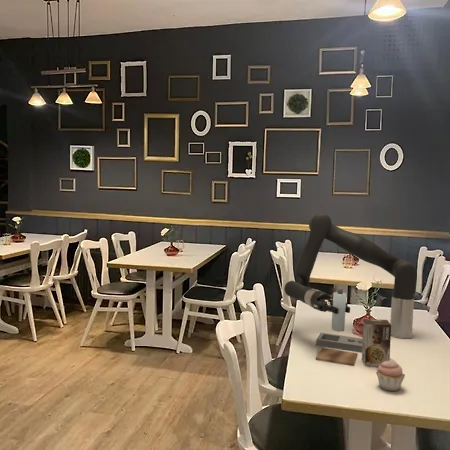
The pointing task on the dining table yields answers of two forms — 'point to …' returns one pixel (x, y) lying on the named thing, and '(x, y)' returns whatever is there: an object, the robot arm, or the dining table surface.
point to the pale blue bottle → (339, 310)
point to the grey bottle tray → (339, 342)
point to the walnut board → (337, 356)
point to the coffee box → (376, 342)
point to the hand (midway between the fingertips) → (343, 310)
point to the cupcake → (390, 375)
